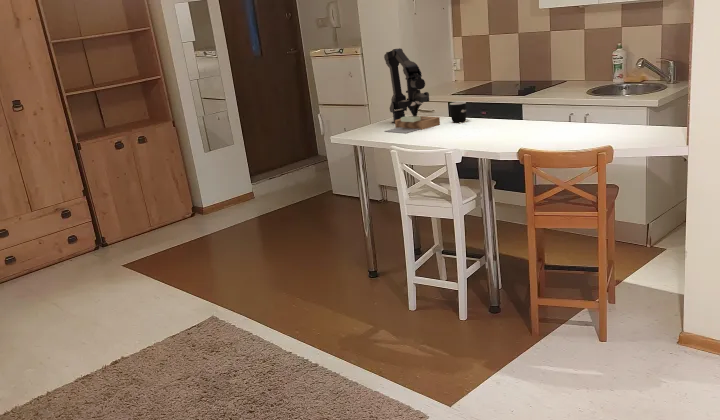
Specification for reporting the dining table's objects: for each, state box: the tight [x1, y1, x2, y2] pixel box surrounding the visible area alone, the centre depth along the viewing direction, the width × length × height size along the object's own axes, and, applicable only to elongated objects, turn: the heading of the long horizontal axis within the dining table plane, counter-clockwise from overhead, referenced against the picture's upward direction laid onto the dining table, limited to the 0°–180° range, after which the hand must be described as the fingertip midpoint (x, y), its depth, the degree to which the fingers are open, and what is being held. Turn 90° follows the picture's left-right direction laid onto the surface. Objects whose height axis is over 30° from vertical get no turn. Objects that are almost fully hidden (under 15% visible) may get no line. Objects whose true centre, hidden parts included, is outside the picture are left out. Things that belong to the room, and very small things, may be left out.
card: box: [401, 115, 422, 122], centre depth 352 cm, size 9×6×2 cm, turn 42°
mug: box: [449, 101, 467, 124], centre depth 356 cm, size 12×9×10 cm
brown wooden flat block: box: [394, 115, 441, 130], centre depth 357 cm, size 20×14×4 cm
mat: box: [384, 127, 421, 134], centre depth 349 cm, size 16×11×1 cm
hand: (415, 117), depth 354 cm, fingers closed
